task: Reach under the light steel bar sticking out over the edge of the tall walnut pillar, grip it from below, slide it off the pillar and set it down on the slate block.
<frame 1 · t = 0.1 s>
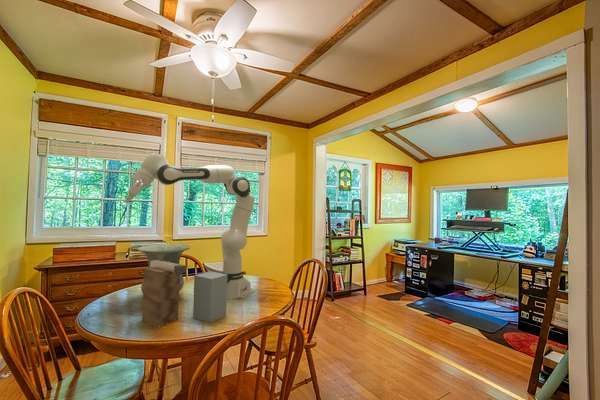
hand: (126, 202, 138), 54 cm above the table, tool tilted 30°, fingers open, 8 cm apart
vessel: (162, 300, 153), on the table
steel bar: (167, 269, 125), point 24 cm above the table, touching walnut pillar
walnut pillar: (160, 320, 127), on the table
slate block: (209, 316, 133), on the table
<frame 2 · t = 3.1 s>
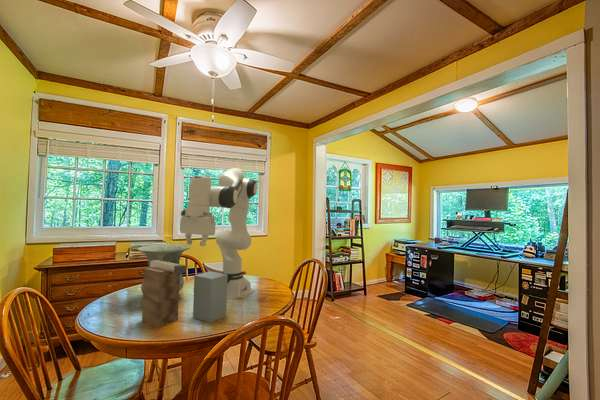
hand: (195, 245, 115), 37 cm above the table, tool pointing down, fingers open, 8 cm apart
nothing on the table moved.
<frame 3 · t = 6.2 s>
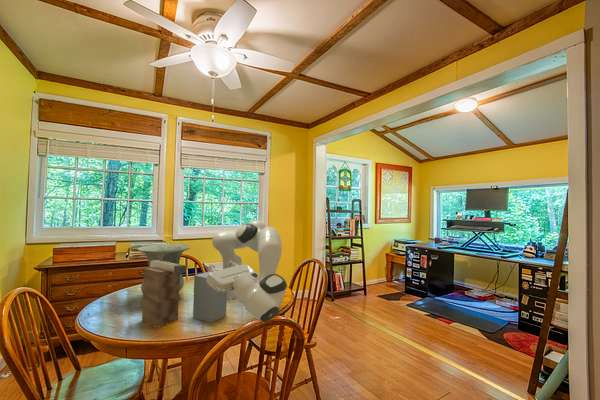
hand: (219, 264, 108), 31 cm above the table, tool pointing upward, fingers open, 8 cm apart
nothing on the table moved.
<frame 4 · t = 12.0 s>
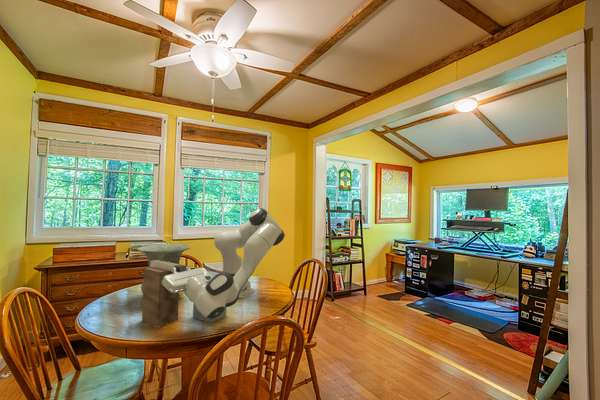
hand: (177, 267, 122), 26 cm above the table, tool pointing upward, fingers closed on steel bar, 3 cm apart
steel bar: (167, 269, 125), point 24 cm above the table, touching gripper, walnut pillar
everything else where it was.
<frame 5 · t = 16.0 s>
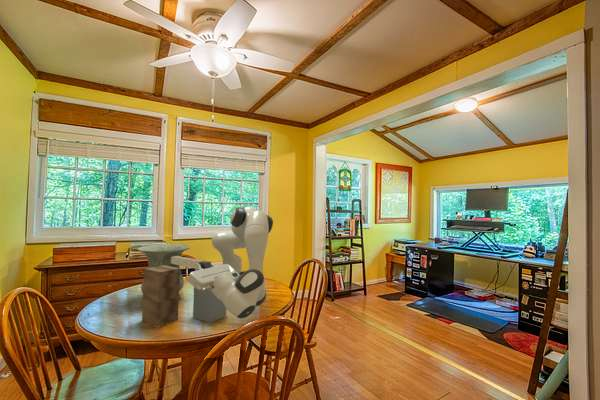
hand: (201, 263, 114), 30 cm above the table, tool pointing upward, fingers closed on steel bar, 3 cm apart
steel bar: (190, 266, 118), point 28 cm above the table, touching gripper
everything else where it was.
when the fingers open (24 cm above the table, at t = 20.0 s): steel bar drops 2 cm, resting on slate block.
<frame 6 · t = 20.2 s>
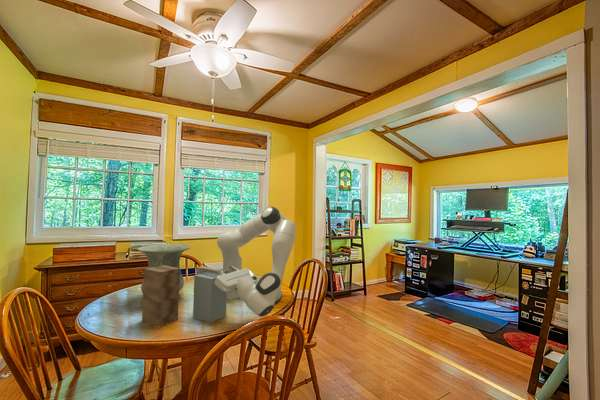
hand: (225, 268, 129), 24 cm above the table, tool pointing upward, fingers open, 5 cm apart
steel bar: (214, 275, 132), point 20 cm above the table, touching slate block
everything else where it was.
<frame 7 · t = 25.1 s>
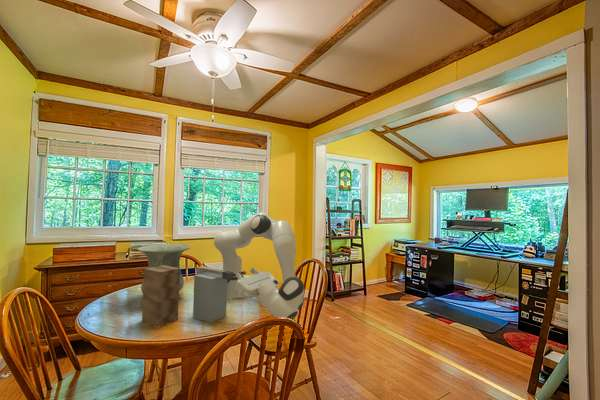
hand: (244, 271, 123), 25 cm above the table, tool pointing upward, fingers open, 8 cm apart
nothing on the table moved.
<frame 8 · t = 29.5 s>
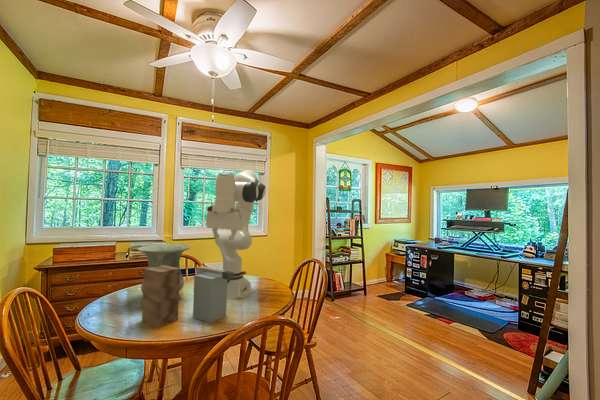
hand: (223, 239, 122), 39 cm above the table, tool pointing down, fingers open, 8 cm apart
nothing on the table moved.
at the end: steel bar inside the target area on the slate block (0.7 cm from its centre), point 20.0 cm above the slate block's base; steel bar touching slate block; the gripper is holding nothing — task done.
